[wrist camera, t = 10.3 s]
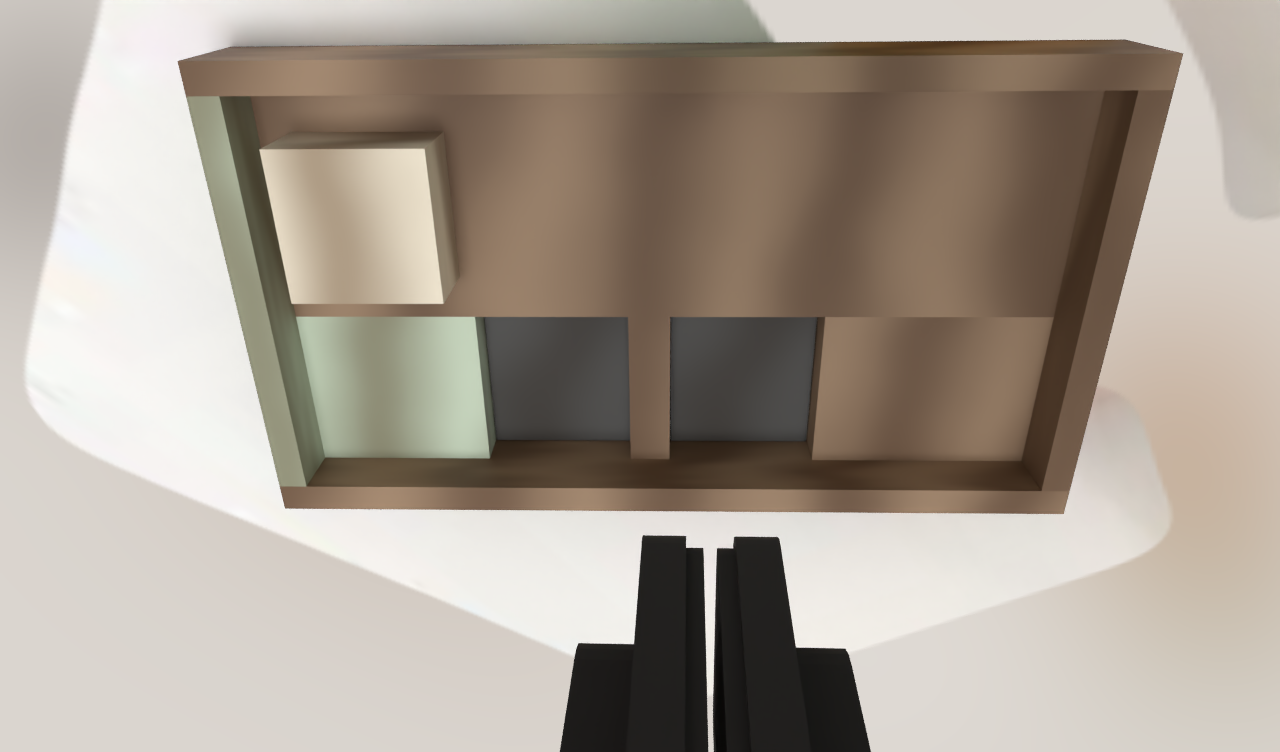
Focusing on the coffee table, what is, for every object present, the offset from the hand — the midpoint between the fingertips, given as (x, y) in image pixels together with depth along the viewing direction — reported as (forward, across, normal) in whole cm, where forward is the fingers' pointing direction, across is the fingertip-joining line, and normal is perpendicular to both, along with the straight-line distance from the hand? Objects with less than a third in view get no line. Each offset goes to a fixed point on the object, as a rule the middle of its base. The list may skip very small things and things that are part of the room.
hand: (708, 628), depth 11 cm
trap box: (+22, +1, +3) cm, 22 cm away
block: (+20, +11, 0) cm, 23 cm away
